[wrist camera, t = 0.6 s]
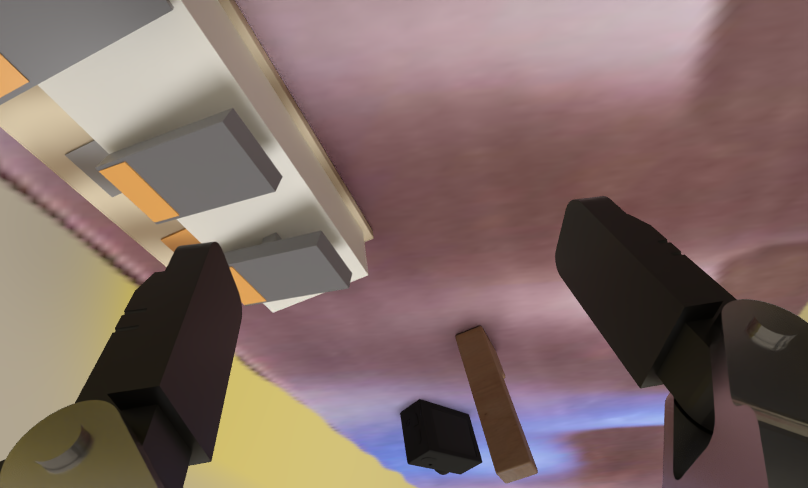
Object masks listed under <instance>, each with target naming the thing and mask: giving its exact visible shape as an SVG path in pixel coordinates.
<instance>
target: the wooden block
mask: <svg viewBox="0 0 808 488" xmlns="http://www.w3.org/2000/svg"><path fill="white" fill-rule="evenodd" d="M456 341H457V344H458V348H459V351H460V354H461V358H462V361H463V364H464V368H465V371H466V374H467V378H468V381H469V384H470V388H471V391H472V394H473V398H474V401H475V405H476V408H477V411H478V415H479V418H480V421H481V425H482V428H483V431H484V435H485V438H486V441H487V445H488V448H489V451H490V455H491V458H492V461H493V465H494V468H495V471H496V474H497V475H498V476H499V477H500V478H501V479H502V480H503V481H504V482H505V483H510V482H513V481H516V480H519V479H522V478H525V477H528V476H531V475H534V474H537V473H538V470H537V467H536V465H535V462H534V459H533V456H532V454H531V451H530V448H529V446H528V443H527V440H526V438H525V435H524V432H523V430H522V427H521V424H520V422H519V419H518V416H517V413H516V411H515V408H514V405H513V403H512V400H511V397H510V395H509V392H508V389H507V387H506V384H505V381H504V379H505V374H504V371H503V369H502V366H501V364H500V361H499V358H498V356H497V353H496V351H495V349H494V347H493V346H492V344H491V342H490V340H489V339H488V337H487V335H486V333H485V332H484V330H483V328H482V327H481V326H479V327H476V328H474V329H471V330H469V331H466V332H464V333H461V334H459V335H456Z"/></svg>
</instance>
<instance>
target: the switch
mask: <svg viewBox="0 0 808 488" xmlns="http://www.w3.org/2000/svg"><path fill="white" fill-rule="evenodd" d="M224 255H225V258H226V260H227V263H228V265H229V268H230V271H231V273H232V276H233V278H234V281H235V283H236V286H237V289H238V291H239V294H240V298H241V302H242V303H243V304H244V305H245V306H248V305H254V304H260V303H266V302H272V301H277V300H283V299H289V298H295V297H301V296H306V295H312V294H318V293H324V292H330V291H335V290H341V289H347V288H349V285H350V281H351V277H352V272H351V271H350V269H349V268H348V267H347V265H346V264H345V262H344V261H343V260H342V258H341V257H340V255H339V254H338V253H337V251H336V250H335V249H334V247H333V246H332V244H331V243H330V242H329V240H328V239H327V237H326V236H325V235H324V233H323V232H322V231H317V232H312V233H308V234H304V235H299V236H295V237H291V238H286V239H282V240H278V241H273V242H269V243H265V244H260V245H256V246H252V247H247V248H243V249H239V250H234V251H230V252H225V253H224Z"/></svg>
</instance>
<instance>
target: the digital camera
mask: <svg viewBox="0 0 808 488" xmlns="http://www.w3.org/2000/svg"><path fill="white" fill-rule="evenodd" d="M400 415H401V422H402V429H403V436H404V443H405V450H406V456H407V462H408V464H410V465H415V466H420V467H425V468H430V469H434V470H435V471H436V472H438V473H439V474H441V475H445V474H447V473H449V472H451V473H456V474H462V473H464V472H466V471H468V470H469V469H471V468H473V467H475V466H477V465H479V464H480V463H482V459H481V455H480V452H479V448H478V445H477V441H476V438H475V434H474V431H473V427H472V424H471V420H470V417H469V414H465V413H462V412H459V411H456V410H453V409H450V408H446V407H443V406H440V405H437V404H434V403H430V402H427V401H424V400H421V399H419V400H418V401H416V402H415V403H414V404H412V405H411V406H409V407H408V408H406V409H405V410H404V411H402V412H401V413H400Z"/></svg>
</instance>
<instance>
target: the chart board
mask: <svg viewBox="0 0 808 488" xmlns="http://www.w3.org/2000/svg"><path fill="white" fill-rule="evenodd" d="M218 1H219V3H220V4H221V6H222V7H223V9H224V11H225V12H226V14H227V15H228V17H229V19H230V20H231V22H232V23H233V25H234V27H235V28H236V30H237V31H238V33H239V35H240V36H241V38H242V39H243V41H244V43H245V44H246V46H247V47H248V49H249V51H250V52H251V54H252V55H253V57H254V59H255V60H256V62H257V63H258V65H259V67H260V68H261V70H262V71H263V73H264V75H265V76H266V78H267V79H268V81H269V83H270V84H271V86H272V87H273V89H274V91H275V92H276V94H277V95H278V97H279V99H280V100H281V102H282V103H283V105H284V107H285V108H286V110H287V111H288V113H289V115H290V116H291V118H292V119H293V121H294V123H295V124H296V126H297V127H298V129H299V131H300V132H301V134H302V135H303V137H304V139H305V140H306V142H307V143H308V145H309V147H310V148H311V150H312V151H313V153H314V155H315V156H316V158H317V159H318V161H319V163H320V164H321V166H322V167H323V169H324V171H325V172H326V174H327V175H328V177H329V178H330V180H331V182H332V183H333V185H334V186H335V188H336V190H337V191H338V193H339V194H340V196H341V198H342V199H343V201H344V202H345V204H346V206H347V207H348V209H349V210H350V212H351V214H352V215H353V217H354V218H355V220H356V222H357V223H358V225H359V226H360V228H361V230H362V231H363V235H364V242H366V241H368V240H371V239H373V238H374V237H373V231H372V229H371V227H370V226H369V224H368V222H367V221H366V219H365V217H364V216H363V214H362V212H361V211H360V209H359V207H358V206H357V204H356V203H355V201H354V199H353V198H352V196H351V194H350V193H349V191H348V189H347V188H346V186H345V184H344V183H343V181H342V179H341V178H340V176H339V174H338V173H337V171H336V169H335V168H334V166H333V164H332V163H331V161H330V159H329V158H328V156H327V154H326V153H325V151H324V149H323V148H322V146H321V144H320V143H319V141H318V139H317V138H316V136H315V134H314V133H313V131H312V129H311V128H310V126H309V124H308V123H307V121H306V119H305V118H304V116H303V114H302V113H301V111H300V109H299V108H298V106H297V104H296V103H295V101H294V99H293V98H292V96H291V94H290V93H289V91H288V89H287V88H286V86H285V84H284V83H283V81H282V79H281V78H280V76H279V74H278V73H277V71H276V69H275V68H274V66H273V64H272V63H271V61H270V59H269V58H268V56H267V54H266V53H265V51H264V49H263V48H262V46H261V44H260V43H259V41H258V39H257V38H256V36H255V34H254V33H253V31H252V29H251V28H250V26H249V24H248V23H247V21H246V19H245V18H244V16H243V14H242V13H241V11H240V9H239V8H238V6H237V4H236V3H235V1H234V0H218ZM0 127H1V128H2V129H3V130H5V131H6V132H7V133H8V134H9V135H11V136H12V137H13V138H14V139H15V140H17V141H18V142H19V143H20V144H21V145H22V146H24V147H25V148H26V149H27V150H28V151H30V152H31V153H32V154H33V155H34V156H35V157H37V158H38V159H39V160H40V161H41V162H43V163H44V164H45V165H46V166H47V167H49V168H50V169H51V170H52V171H53V172H54V173H56V174H57V175H58V176H59V177H60V178H62V179H63V180H64V181H65V182H66V183H68V184H69V185H70V186H71V187H72V188H73V189H75V190H76V191H77V192H78V193H79V194H81V195H82V196H83V197H84V198H85V199H86V200H88V201H89V202H90V203H91V204H92V205H94V206H95V207H96V208H97V209H98V210H100V211H101V212H102V213H103V214H104V215H105V216H107V217H108V218H109V219H110V220H111V221H113V222H114V223H115V224H116V225H117V226H118V227H120V228H121V229H122V230H123V231H124V232H126V233H127V234H128V235H129V236H130V237H132V238H133V239H134V240H135V241H136V242H137V243H139V244H140V245H141V246H142V247H143V248H145V249H146V250H147V251H148V252H149V253H151V254H152V255H153V256H154V257H155V258H156V259H158V260H159V261H160V262H161V263H162V264H164V265H165V266H166V267H167V266H168V264H169V262H170V259H171V257H172V255H173V253H174V251H175V249H176V248H177V247H178V246H182V245H191V244H199V243H200V242H199V241H198V240H197V239H196V238H195V237H194V236H193V235H192V234H191V233H190V232H189V231H188V230H187V229H186V228H185V227H184V226H183V225H182V224H181V223H180V222H179V221H178V220H177V219H175V220H172V221H168V222H164V223H161V224H155V223H154V222H153V221H152V220H151V219H150V218H149V217H148V216H147V215H146V214H145V213H143V212H142V211H141V210H140V209H139V208H138V207H137V206H136V205H135V204H134V203H133V202H131V201H130V200H129V199H128V198H127V197H126V196H125V195H124V194H123V193H122V192H121V191H119V190H118V189H117V188H116V187H115V186H114V185H113V184H112V183H111V182H110V181H109V180H107V179H106V178H105V177H104V176H103V175H102V174H101V173H100V172H99V171H98V170H97V169H95V167H96V166H97V165H98V164H99V163H100V162H101V161H102V160H104V159H105V158H106V157H107V156H108V155H109V154H108V153H107V152H106V151H105V150H104V149H103V148H102V147H101V146H100V145H99V144H98V143H97V142H96V141H95V140H94V139H93V138H92V137H91V136H90V135H89V134H88V133H87V132H86V131H85V130H84V129H83V128H82V127H81V126H79V125H78V124H77V123H76V122H75V121H74V120H73V119H72V118H71V117H70V116H69V115H68V114H67V113H66V112H65V111H64V110H63V109H62V108H61V107H60V106H59V105H58V104H57V103H56V102H55V101H54V100H53V99H52V98H51V97H50V96H48V95H47V94H46V93H45V92H44V91H43V90H42V89H41V88H40V87H39V86H38V85H36V86H34V87H32V88H30V89H29V90H27V91H25V92H23V93H21V94H20V95H18V96H16V97H14V98H12V99H10V100H9V101H7V102H5V103H3V104H1V105H0Z"/></svg>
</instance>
